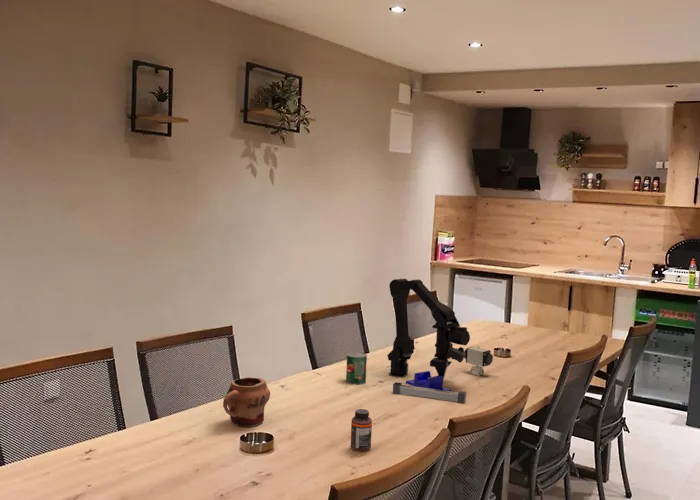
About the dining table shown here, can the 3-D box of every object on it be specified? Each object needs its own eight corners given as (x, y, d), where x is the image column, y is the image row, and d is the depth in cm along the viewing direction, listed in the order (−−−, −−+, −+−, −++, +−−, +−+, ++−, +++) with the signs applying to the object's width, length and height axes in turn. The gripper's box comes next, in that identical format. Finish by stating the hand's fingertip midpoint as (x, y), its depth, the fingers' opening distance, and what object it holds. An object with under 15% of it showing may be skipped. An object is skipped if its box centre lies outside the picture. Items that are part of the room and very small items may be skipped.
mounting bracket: (451, 394, 264) (452, 378, 264) (437, 397, 260) (438, 381, 260) (419, 382, 279) (419, 368, 278) (405, 385, 274) (406, 370, 274)
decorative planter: (242, 437, 208) (243, 391, 206) (209, 429, 213) (210, 385, 212) (278, 419, 226) (279, 377, 224) (247, 412, 231) (248, 371, 230)
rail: (392, 393, 259) (393, 384, 259) (395, 391, 262) (395, 382, 262) (464, 403, 250) (464, 393, 250) (465, 401, 253) (466, 391, 253)
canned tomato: (370, 382, 274) (371, 354, 273) (356, 385, 268) (357, 357, 267) (355, 378, 279) (356, 351, 278) (341, 381, 273) (342, 354, 272)
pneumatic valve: (485, 378, 286) (487, 349, 285) (462, 372, 294) (463, 344, 293) (493, 376, 290) (494, 348, 289) (469, 370, 298) (471, 343, 297)
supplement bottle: (349, 445, 205) (351, 407, 204) (369, 445, 205) (371, 407, 204) (351, 452, 199) (352, 413, 198) (371, 452, 199) (373, 414, 198)
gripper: (459, 347, 259) (457, 389, 260) (468, 338, 276) (466, 377, 278) (430, 344, 262) (428, 385, 264) (440, 335, 280) (439, 373, 281)
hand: (441, 380), depth 271 cm, fingers closed
